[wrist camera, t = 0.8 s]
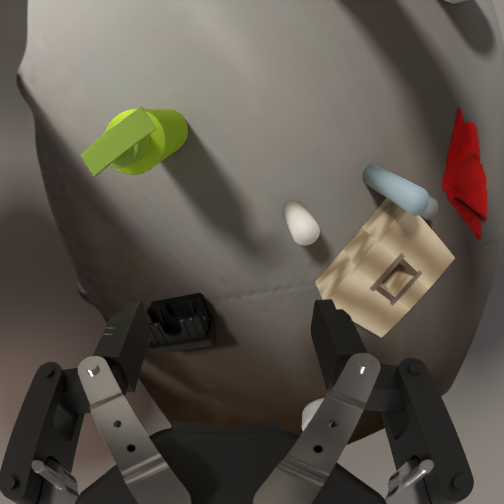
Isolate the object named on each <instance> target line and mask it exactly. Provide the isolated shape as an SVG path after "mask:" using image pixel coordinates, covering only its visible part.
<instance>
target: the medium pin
mask: <svg viewBox="0 0 504 504" xmlns="http://www.w3.org/2000/svg"><path fill="white" fill-rule="evenodd" d="M283 216H284V218H285V220H286V223H287V225H288V227H289V229H290V232H291V234H292V236H293V238H294V240H295V241H296V242H297V243H298V244H300V245H310V244H312V243H314V242H315V241H316V240H317V239H318V237H319V234H320V229H319V226H318V225H317V223H316V222H315V220H314V219H313V217H312V216H311V215H310V213H309V212H308V210H307V209H306V207H305V206H304V205H303V203H301V202H300V201H297V200H293V201H289V202H288V203H286V204H285V206H284V208H283Z"/></svg>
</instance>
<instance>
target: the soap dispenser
mask: <svg viewBox="0 0 504 504" xmlns="http://www.w3.org/2000/svg"><path fill="white" fill-rule="evenodd" d="M187 136H188V125H187V122H186V120H185V119H184V117H183V116H182V115H181V114H179V113H178V112H176V111H173V110H166V109H144V108H143V107H140V108H138V109H131V110H127V111H124V112H122V113H120V114H119V115H117V116H116V117H115V118H114V119H113V120H112V121H111V122H110V123H109V125H108V127H107V129H106V131H105V133H104V134H103V135H102V136H101V137H100V138H98V139H97V140H96V141H95V142H94V143H93V144H92V145H91V146H89V147H88V148H87V149H86V150H85V151H84V152H83V153H82V154H81V155H80V156H81V157H82V159H83V160H84V162H85V163H86V165H87V167H88V168H89V170H90V171H91V173H92V174H93V176H94V177H95V176H96V175H98V174H99V173H100V172H101V171H103V170H104V169H105V168H106V167H107V166H110V167H112V168H115V169H116V170H118V171H120V172H122V173H125V174H130V175H136V174H141V173H144V172H147V171H148V170H150V169H151V168H153V167H154V166H156V165H157V164H158V163H160V162H161V161H163V160H164V159H165V158H167V157H168V156H170V155H171V154H173V153H174V152H175V151H177V150H178V149H180V148H181V147H182V146H183V144H184V143H185V141H186V139H187Z"/></svg>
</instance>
